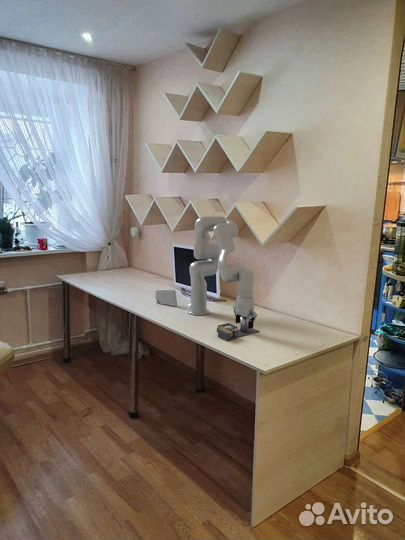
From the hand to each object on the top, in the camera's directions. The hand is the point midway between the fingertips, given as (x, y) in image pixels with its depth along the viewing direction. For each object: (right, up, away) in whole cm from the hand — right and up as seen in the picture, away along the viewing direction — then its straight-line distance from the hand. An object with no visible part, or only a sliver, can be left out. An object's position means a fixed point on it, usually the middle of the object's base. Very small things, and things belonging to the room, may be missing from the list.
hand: (244, 325), depth 214 cm
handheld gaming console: (-45, +6, +50) cm, 68 cm away
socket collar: (-8, -2, +8) cm, 12 cm away
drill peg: (0, -3, +1) cm, 3 cm away
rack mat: (0, -4, +1) cm, 4 cm away
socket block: (-9, -5, -8) cm, 13 cm away
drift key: (-11, -4, -6) cm, 13 cm away
